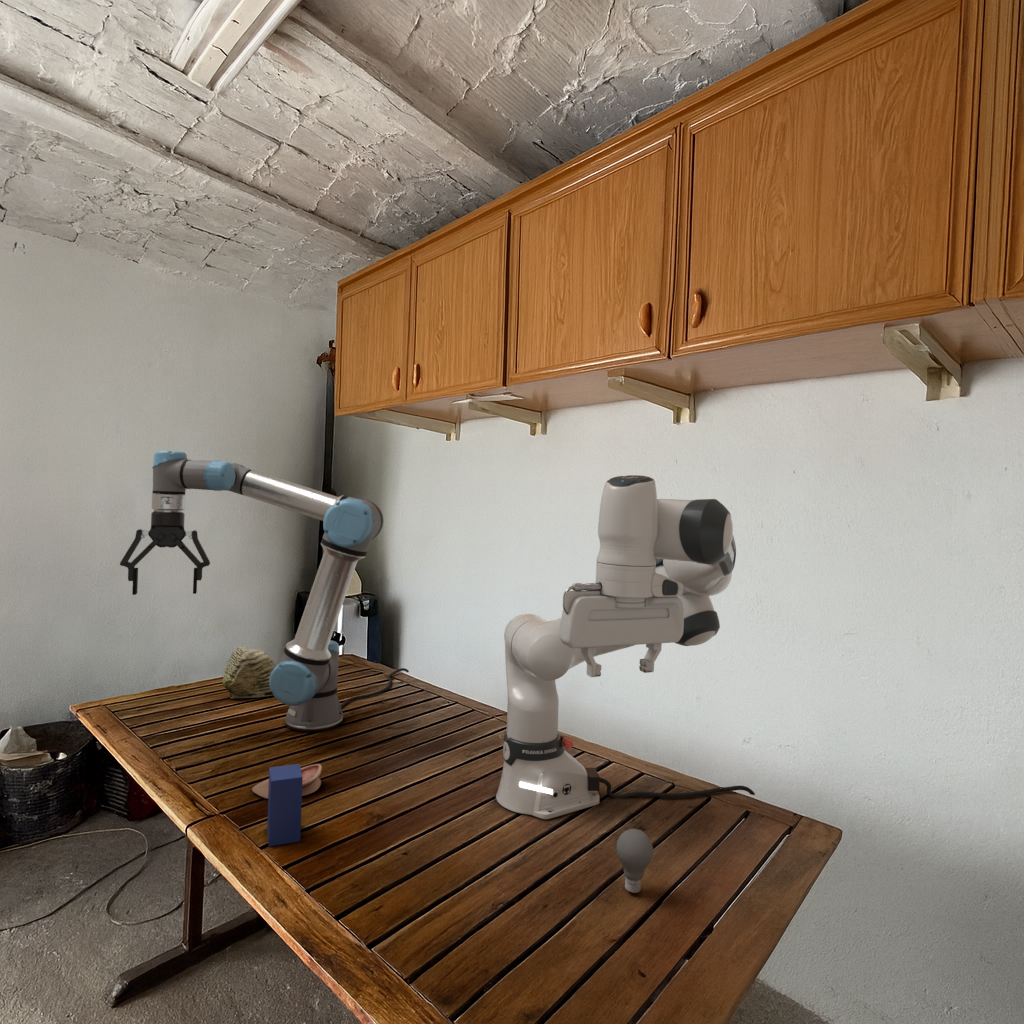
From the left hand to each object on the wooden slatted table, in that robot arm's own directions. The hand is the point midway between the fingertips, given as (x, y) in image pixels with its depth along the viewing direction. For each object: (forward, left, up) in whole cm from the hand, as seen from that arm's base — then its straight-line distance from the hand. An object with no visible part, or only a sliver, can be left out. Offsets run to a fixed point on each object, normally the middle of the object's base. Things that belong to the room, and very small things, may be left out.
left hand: (165, 593), depth 163 cm
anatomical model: (-5, +50, -36) cm, 62 cm away
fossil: (-33, -13, -36) cm, 51 cm away
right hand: (-13, +125, +2) cm, 125 cm away
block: (+5, +66, -36) cm, 76 cm away
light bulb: (-24, +123, -36) cm, 131 cm away
